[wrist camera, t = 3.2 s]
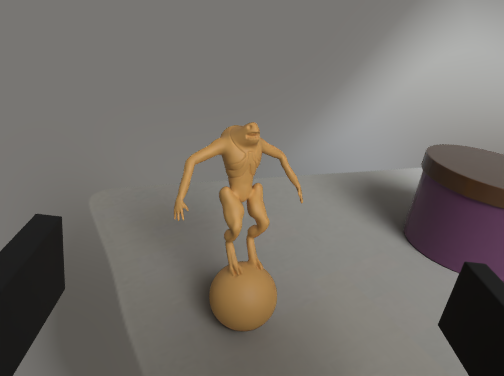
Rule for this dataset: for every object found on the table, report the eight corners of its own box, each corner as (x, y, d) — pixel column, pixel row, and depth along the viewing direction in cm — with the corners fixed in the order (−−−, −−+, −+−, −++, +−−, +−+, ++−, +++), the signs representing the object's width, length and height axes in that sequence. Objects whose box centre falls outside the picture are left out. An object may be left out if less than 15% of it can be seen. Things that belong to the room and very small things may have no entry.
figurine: (188, 367, 22) (214, 151, 17) (150, 296, 26) (162, 110, 21) (311, 325, 26) (360, 144, 21) (260, 270, 31) (291, 110, 26)
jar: (448, 286, 32) (487, 194, 29) (378, 214, 43) (401, 140, 39) (565, 284, 35) (612, 201, 32) (473, 217, 45) (502, 148, 42)
